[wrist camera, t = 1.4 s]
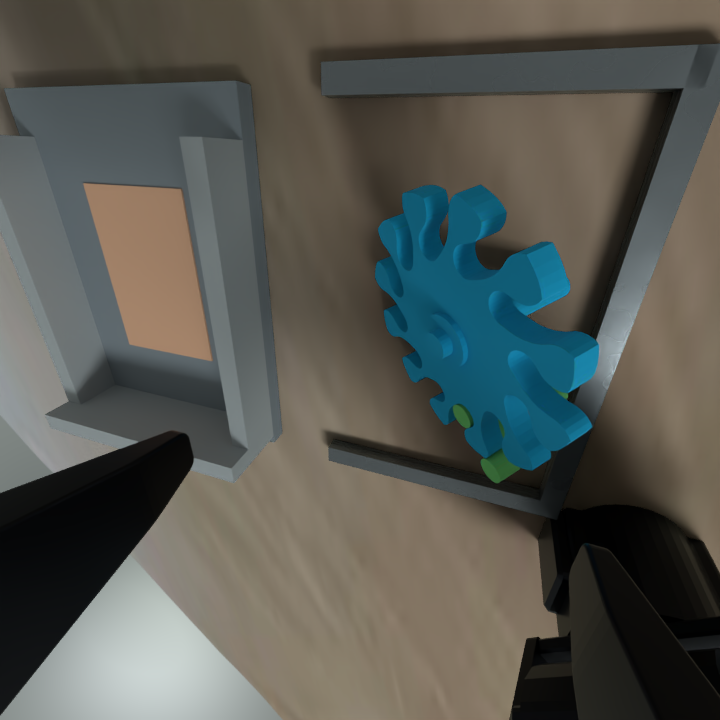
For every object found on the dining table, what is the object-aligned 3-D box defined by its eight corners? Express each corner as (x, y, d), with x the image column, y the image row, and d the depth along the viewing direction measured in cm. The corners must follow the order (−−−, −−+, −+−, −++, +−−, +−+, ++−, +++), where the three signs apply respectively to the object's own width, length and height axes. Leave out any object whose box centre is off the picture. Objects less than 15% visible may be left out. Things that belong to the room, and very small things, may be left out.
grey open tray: (250, 85, 16) (157, 57, 11) (282, 432, 24) (235, 490, 20) (25, 91, 19) (-109, 72, 15) (122, 392, 28) (53, 434, 23)
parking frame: (728, 49, 11) (742, 42, 10) (555, 507, 20) (556, 520, 19) (329, 66, 14) (320, 61, 14) (333, 451, 23) (328, 460, 23)
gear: (337, 217, 16) (518, 149, 7) (451, 176, 18) (718, 79, 9) (409, 433, 20) (586, 572, 11) (497, 384, 21) (716, 468, 12)
